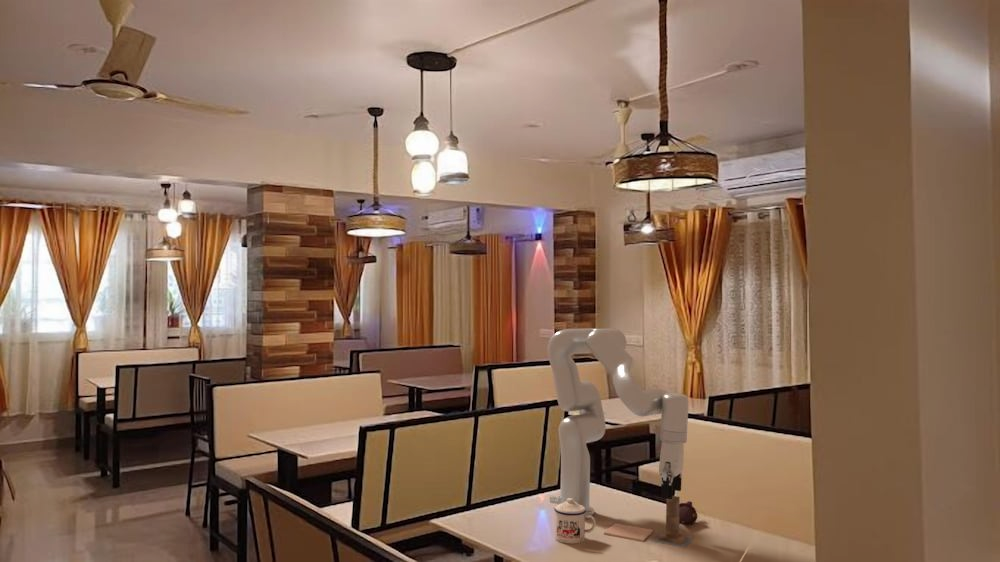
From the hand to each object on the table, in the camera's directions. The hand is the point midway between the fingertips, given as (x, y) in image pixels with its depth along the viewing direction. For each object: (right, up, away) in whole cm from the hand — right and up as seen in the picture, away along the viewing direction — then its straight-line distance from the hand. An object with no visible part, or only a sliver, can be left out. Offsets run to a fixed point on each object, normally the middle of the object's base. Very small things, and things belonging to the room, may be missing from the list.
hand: (671, 494), depth 210 cm
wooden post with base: (0, -13, -1) cm, 13 cm away
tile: (-12, -13, +4) cm, 18 cm away
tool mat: (0, -13, -1) cm, 13 cm away
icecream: (+8, -14, +15) cm, 22 cm away
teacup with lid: (-28, -13, -1) cm, 31 cm away
